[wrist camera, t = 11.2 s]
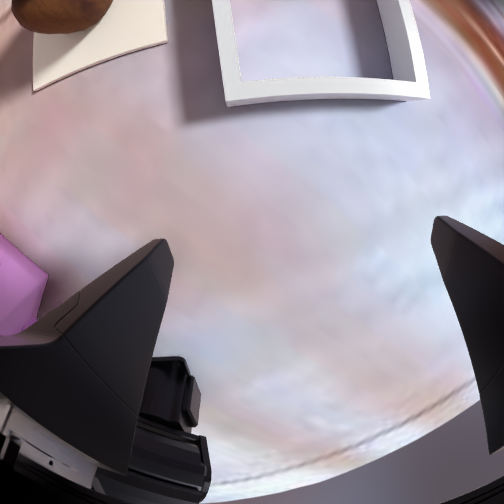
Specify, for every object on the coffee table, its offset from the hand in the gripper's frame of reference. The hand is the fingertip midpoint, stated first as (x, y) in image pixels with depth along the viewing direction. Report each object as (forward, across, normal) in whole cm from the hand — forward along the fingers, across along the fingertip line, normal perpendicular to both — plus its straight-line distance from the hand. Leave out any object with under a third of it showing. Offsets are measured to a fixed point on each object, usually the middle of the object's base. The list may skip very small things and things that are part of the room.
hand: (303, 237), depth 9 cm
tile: (+12, +12, -14) cm, 23 cm away
